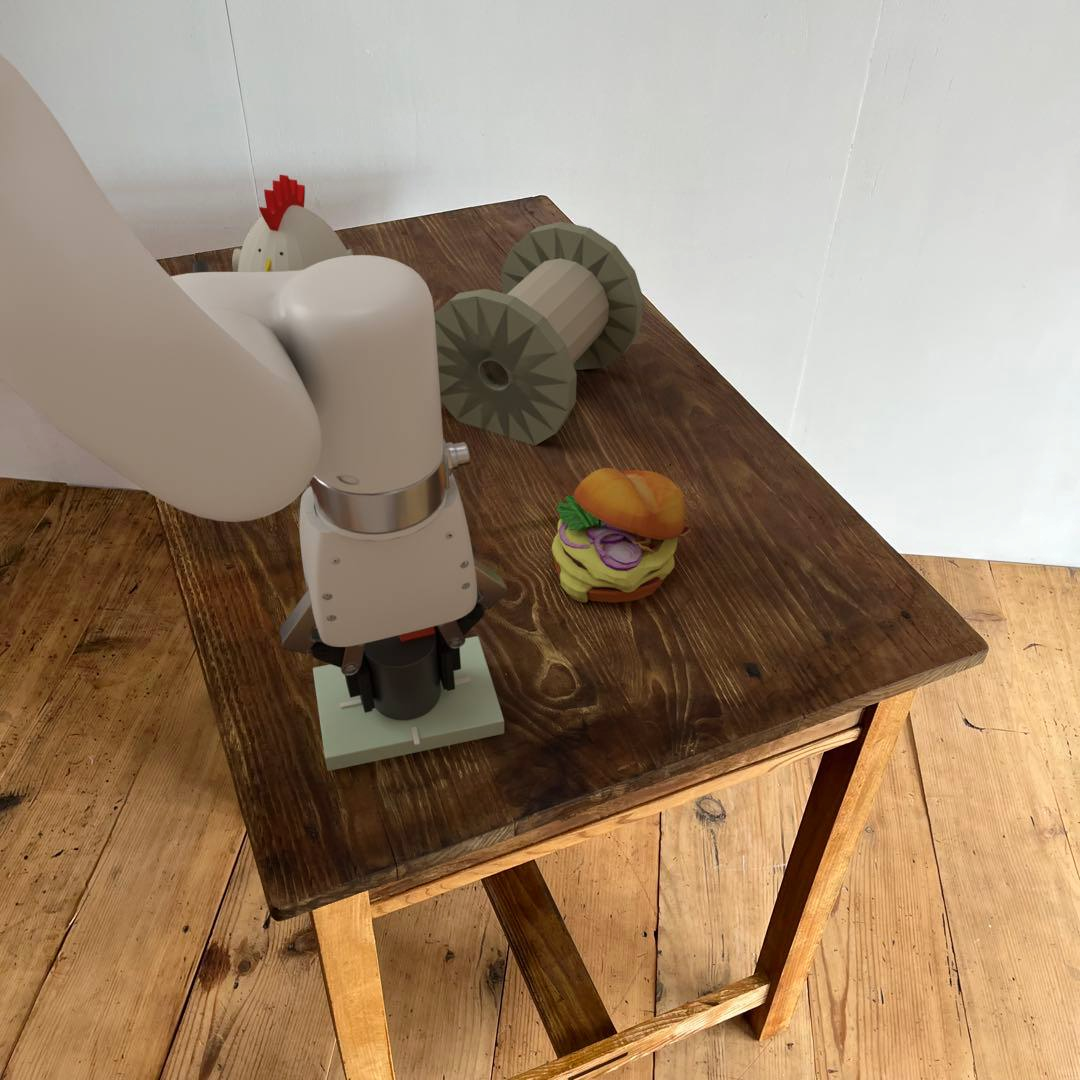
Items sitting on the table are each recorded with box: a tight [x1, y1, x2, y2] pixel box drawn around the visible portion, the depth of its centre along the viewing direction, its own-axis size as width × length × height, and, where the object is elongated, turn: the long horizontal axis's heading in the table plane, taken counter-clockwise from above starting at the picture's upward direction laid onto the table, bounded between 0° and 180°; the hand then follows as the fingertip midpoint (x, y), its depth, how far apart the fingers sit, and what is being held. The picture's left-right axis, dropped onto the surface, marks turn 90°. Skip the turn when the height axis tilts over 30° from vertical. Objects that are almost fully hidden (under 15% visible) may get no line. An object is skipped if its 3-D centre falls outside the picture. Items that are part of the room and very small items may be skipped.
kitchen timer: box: [231, 174, 354, 272], centre depth 110 cm, size 14×14×15 cm
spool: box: [434, 221, 645, 446], centre depth 97 cm, size 16×15×15 cm
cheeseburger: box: [551, 467, 691, 603], centre depth 81 cm, size 10×11×10 cm
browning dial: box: [363, 626, 441, 720], centre depth 68 cm, size 5×5×6 cm
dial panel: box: [312, 635, 505, 772], centre depth 71 cm, size 12×9×3 cm
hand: (404, 683), depth 69 cm, fingers closed on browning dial, 4 cm apart
